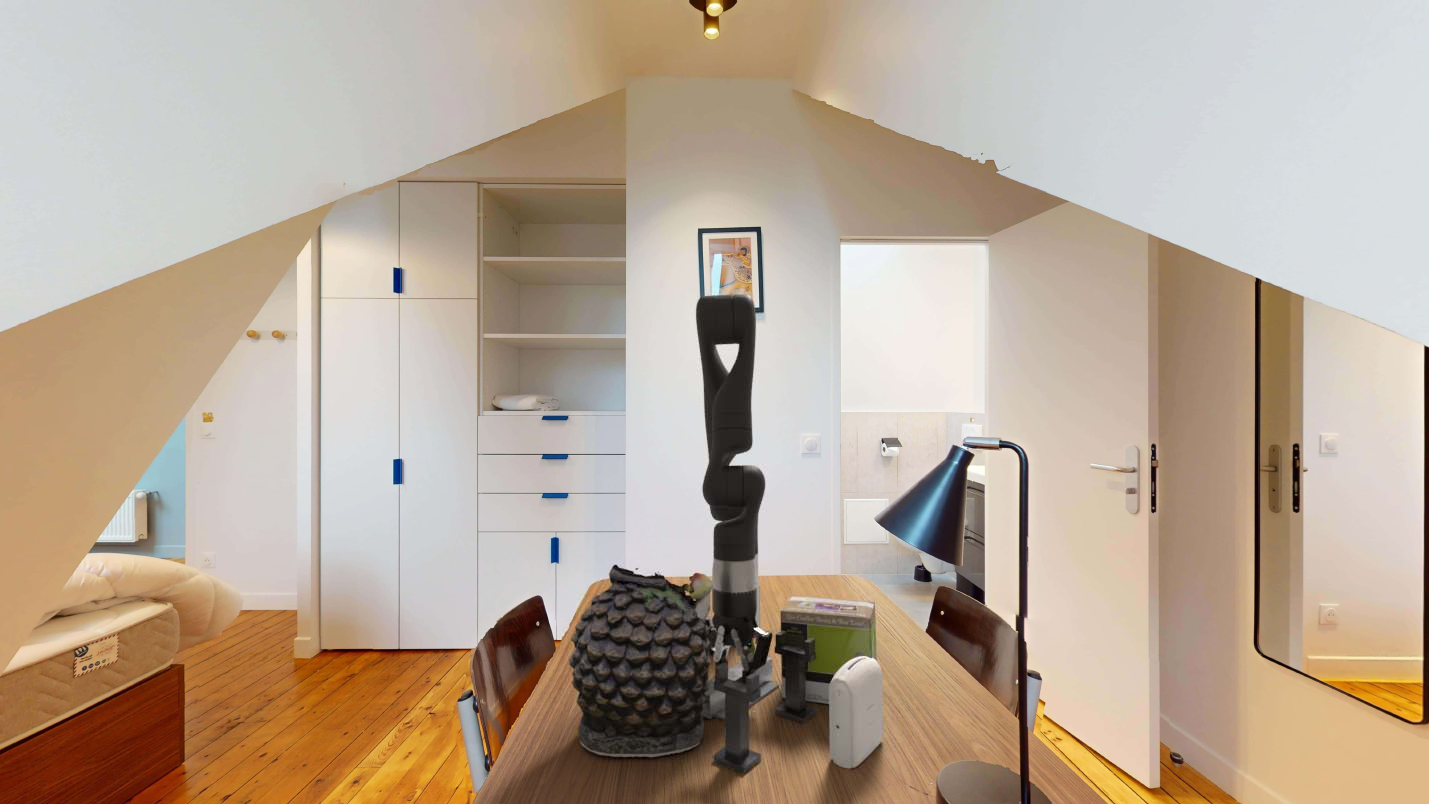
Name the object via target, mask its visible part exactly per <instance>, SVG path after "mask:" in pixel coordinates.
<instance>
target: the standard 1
mask: <svg viewBox="0 0 1429 804" xmlns="http://www.w3.org/2000/svg"><path fill="white" fill-rule="evenodd" d="M728 669H729V663H728V664H725V663H722V664H720V665H719V666H717V667H714V677H715V682H714V690H717V691H720V692H723V693H725V721H724V724H725V725H724V728H725V729H724V731H725V734H724V737H725V739H724V740H725V741H724V742H725V743H724V744H725V746H724V747H722V748H720V750H718V751H717V752H716V753H714V754H713V762H715V763H717V764H719V765H721V766H724V767H726V768H728V769H731V770H733V771H735V772H737V773H740V774H742V775H745V774H746V773H747V772H749V771H750V770H751V769H752V768H754V767H755V766H756V765H757V764H759V762H760V761H761V760H762V756H761V755H762V754H761V753H759V752H756V751H753V750H751V749H750V730H749V729H750V728H749V727H750V721H749V720H750V717H749V716H750V714H749V712H750V710H749V709H750V707H749V702H752V703H753V702H754V701H756V700H757V699H758V698H760V697H761V689H759V674H758V673H755V672H754V673H752V674H751V675H749V676H748V677H746V684H743V683H739V682H736V681H733V680H730V679H728Z"/></svg>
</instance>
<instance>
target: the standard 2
mask: <svg viewBox="0 0 1429 804" xmlns="http://www.w3.org/2000/svg"><path fill="white" fill-rule="evenodd" d="M774 635H775V646H774V654H777V655H780V656H781V655H784V656H785V698H784V699H785V701H784V702H783V703H781V704H780V705H779V706H777V707H776V708H775V712H774V714H775V715H776V716H779V717H783V718H785V719H789V720H791V721H795V722H798V723H800V724H803V725H804V724H806V723H807V722H808V721H809V720H810V719H812V718H813V717H814V716H815V715H816V714H817V708H816V707H813V706H810V705H807V703H806V702H807V701H806V670H805V661H806V662H809V663H811V662H812V661H814V660H815V659H816V652H815V639H814V638H809V639H808V640H806V641H804V649H803V648H799V647H795V646H791V645H787V644H786V631H781V630H780V631H779V632H777V633H775V634H774Z"/></svg>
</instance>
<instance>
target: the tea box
mask: <svg viewBox="0 0 1429 804" xmlns="http://www.w3.org/2000/svg"><path fill="white" fill-rule="evenodd" d="M876 623H877V622H876V603H875V601H869V600H855V599H844V598H843V599H841V598H831V597H829V598H828V597H815V596H802V595H791V597H790V598H789V599H788V600H787V602H786V603H785V604H784V606H783V607H782V609H780V631H786V644H787V645H791V646H795V647H799V648H803V649H804V641H806V640H808V639H809V638H814V639H815V652H816V659H815V660H814V661H812V662H811V663H809V662H806V661H805V670H806V702H812V703H819V704H820V703H821V704H827V705H829V686H830V683H831V680H832V678H833V677H834V675H835V674H836V673H837V671H838V670H839V669H840V668H841V667H842V666H843V665H844V664H845V663H847V662H848V661H850V660H852V659H854V658H856V657H860V656H866V657H869V658H873V659H875V660H876V661H877V662H878V657H877V654H878V653H877V627H876V625H877V624H876ZM780 659H781V660H780V662H781V665H780V666H781V667H780V668H781V671H780V672H781V673H780V674H781V693H782V698H784V699H785V656H784V655H780Z"/></svg>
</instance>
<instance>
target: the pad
mask: <svg viewBox="0 0 1429 804" xmlns="http://www.w3.org/2000/svg"><path fill="white" fill-rule="evenodd" d="M777 687H778V688H779V687H780V685H779V684H778V683H775V682H772V681H770V680H769V681H767V682H766V683H764V684H763V685H761V686H760V687H759V689H761V697H760V698H758V699H757V700H756V701H754V702H753V703H752V702H749V708H750V707H752V706H753V705H755V704H757V703H758V702H759V701H761V700H762V699H764V698H765V697H766V696H768V695H770V694H771V693H773V692H774V691H776V690H777V689H778V688H777ZM776 688H777V689H776ZM713 718H716V719H718V720H720V721H724V722H725V709H724V710H723V711H721V712H720V713H718V714H717V715H715V716H714V717H713Z"/></svg>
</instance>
